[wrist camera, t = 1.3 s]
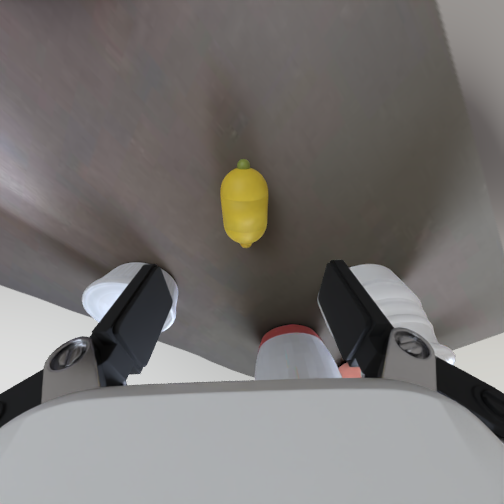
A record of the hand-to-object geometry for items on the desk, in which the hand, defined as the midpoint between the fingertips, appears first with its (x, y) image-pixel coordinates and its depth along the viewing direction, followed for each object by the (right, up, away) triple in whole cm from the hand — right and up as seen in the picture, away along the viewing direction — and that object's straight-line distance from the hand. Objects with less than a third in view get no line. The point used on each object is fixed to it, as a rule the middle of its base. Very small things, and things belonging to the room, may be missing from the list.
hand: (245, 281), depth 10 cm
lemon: (0, +8, +11) cm, 13 cm away
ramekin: (-16, -3, +18) cm, 24 cm away
